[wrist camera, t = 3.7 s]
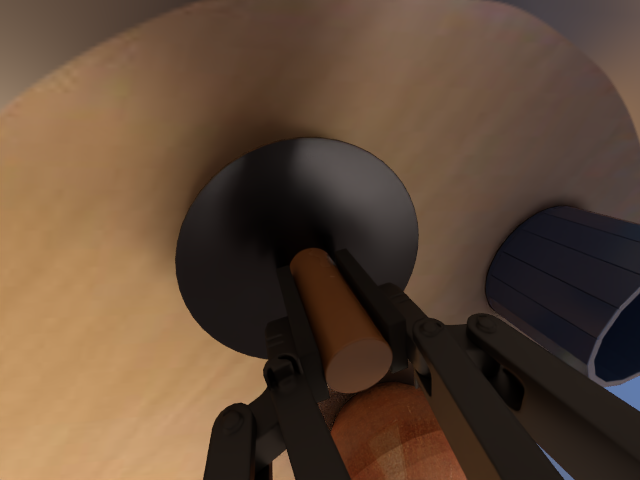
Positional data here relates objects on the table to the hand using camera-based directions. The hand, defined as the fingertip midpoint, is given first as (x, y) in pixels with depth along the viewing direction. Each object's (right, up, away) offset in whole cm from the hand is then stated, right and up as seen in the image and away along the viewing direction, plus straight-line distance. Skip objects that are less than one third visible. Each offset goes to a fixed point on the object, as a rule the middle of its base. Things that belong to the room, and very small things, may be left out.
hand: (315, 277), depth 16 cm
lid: (0, +1, +2) cm, 2 cm away
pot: (+26, -1, +16) cm, 30 cm away
